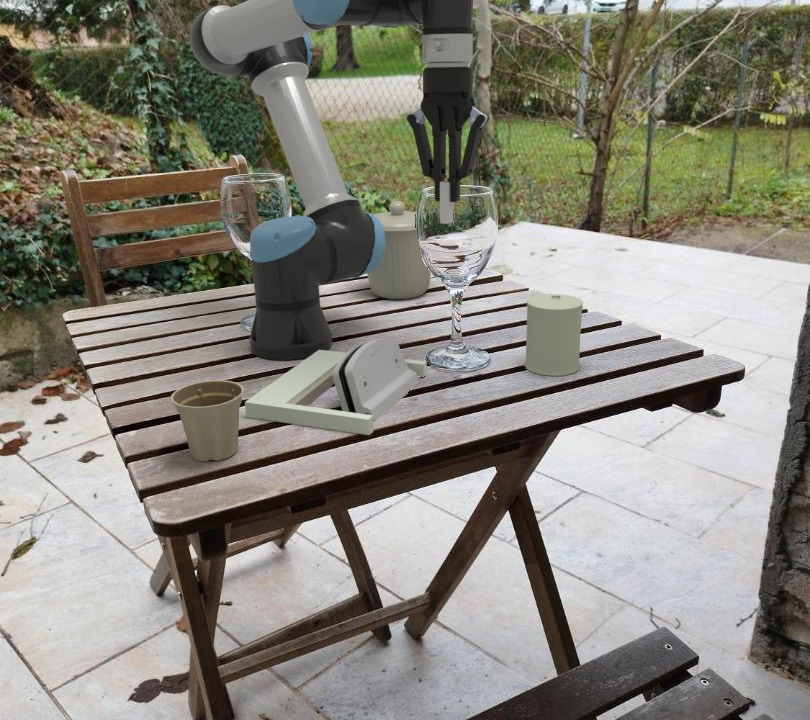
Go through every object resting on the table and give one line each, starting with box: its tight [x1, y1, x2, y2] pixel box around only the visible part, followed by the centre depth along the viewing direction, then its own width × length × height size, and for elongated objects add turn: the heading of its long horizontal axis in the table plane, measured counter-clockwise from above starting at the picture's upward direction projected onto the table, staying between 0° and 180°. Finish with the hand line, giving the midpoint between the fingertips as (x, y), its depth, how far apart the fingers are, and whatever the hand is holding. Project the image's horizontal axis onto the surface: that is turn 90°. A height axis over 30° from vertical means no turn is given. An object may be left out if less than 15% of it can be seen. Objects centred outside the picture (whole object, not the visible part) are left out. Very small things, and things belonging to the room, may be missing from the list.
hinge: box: [333, 337, 420, 422], centre depth 118 cm, size 17×5×10 cm, turn 154°
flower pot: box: [170, 379, 245, 462], centre depth 102 cm, size 9×9×9 cm
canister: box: [367, 200, 432, 300], centre depth 172 cm, size 18×18×21 cm
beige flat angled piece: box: [244, 350, 428, 436], centre depth 120 cm, size 20×24×2 cm
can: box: [524, 293, 584, 377], centre depth 128 cm, size 9×9×12 cm
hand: (447, 221), depth 123 cm, fingers closed
